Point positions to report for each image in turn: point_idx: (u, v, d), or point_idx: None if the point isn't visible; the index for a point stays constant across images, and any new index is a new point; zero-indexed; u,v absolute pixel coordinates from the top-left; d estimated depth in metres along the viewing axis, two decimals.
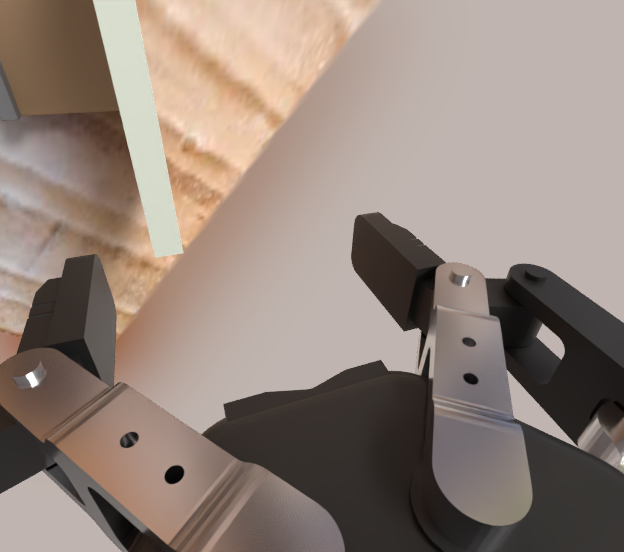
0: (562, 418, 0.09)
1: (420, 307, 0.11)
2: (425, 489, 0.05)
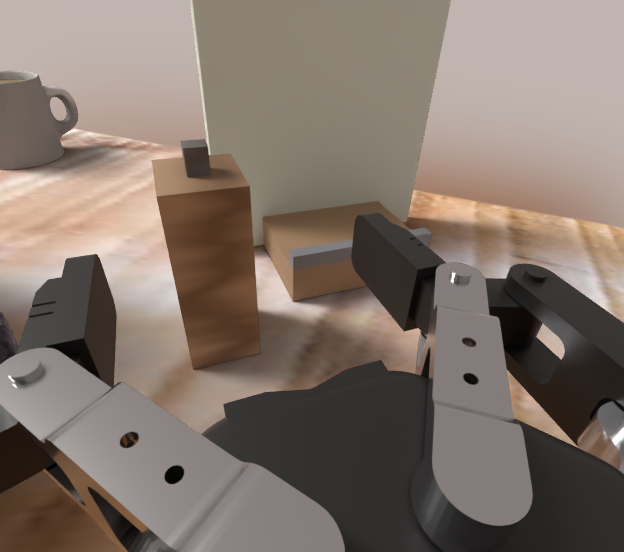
0: (562, 418, 0.09)
1: (420, 307, 0.11)
2: (425, 489, 0.05)
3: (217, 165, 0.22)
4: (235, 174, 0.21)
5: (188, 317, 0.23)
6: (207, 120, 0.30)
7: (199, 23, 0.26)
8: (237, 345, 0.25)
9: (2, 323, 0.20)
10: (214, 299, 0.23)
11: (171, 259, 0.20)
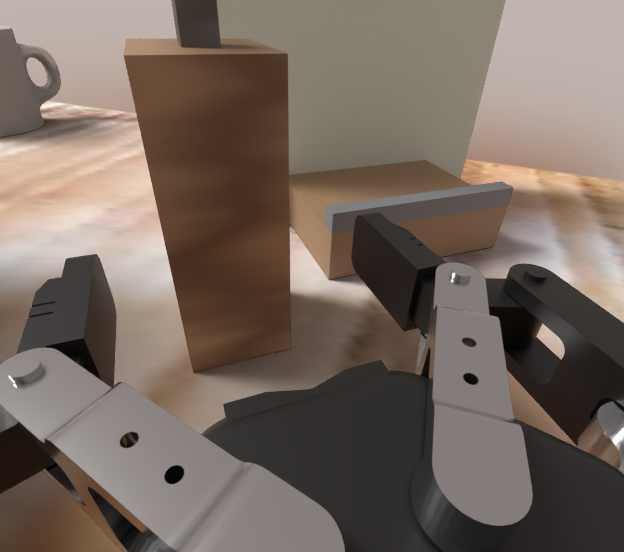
0: (562, 418, 0.09)
1: (420, 307, 0.11)
2: (425, 489, 0.05)
3: (230, 43, 0.14)
4: (260, 47, 0.12)
5: (184, 289, 0.14)
6: None
7: None
8: (259, 336, 0.17)
9: None
10: (225, 260, 0.14)
11: (154, 185, 0.12)
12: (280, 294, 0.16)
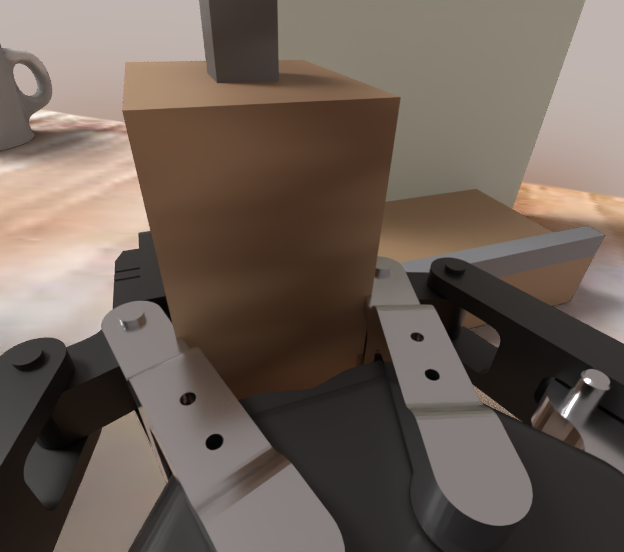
0: (507, 401, 0.09)
1: None
2: (425, 489, 0.05)
3: (284, 70, 0.09)
4: (340, 81, 0.08)
5: None
6: None
7: None
8: None
9: None
10: (273, 389, 0.10)
11: (172, 307, 0.07)
12: None
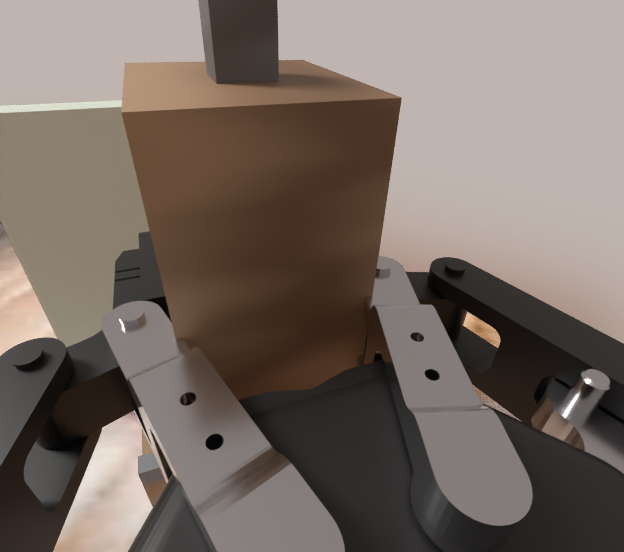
0: (507, 401, 0.09)
1: None
2: (425, 489, 0.05)
3: (284, 71, 0.09)
4: (340, 81, 0.08)
5: None
6: (27, 273, 0.22)
7: None
8: None
9: None
10: (273, 391, 0.10)
11: (172, 310, 0.07)
12: None
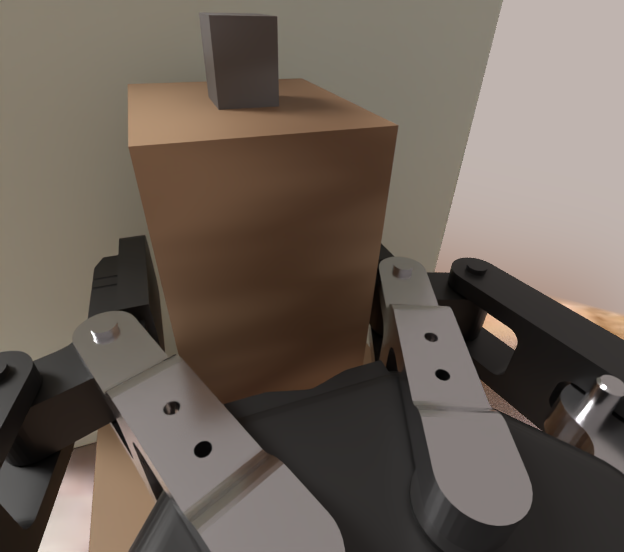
0: (522, 404, 0.09)
1: None
2: (425, 489, 0.05)
3: (284, 92, 0.09)
4: (339, 106, 0.08)
5: None
6: None
7: None
8: None
9: None
10: None
11: (176, 329, 0.08)
12: None
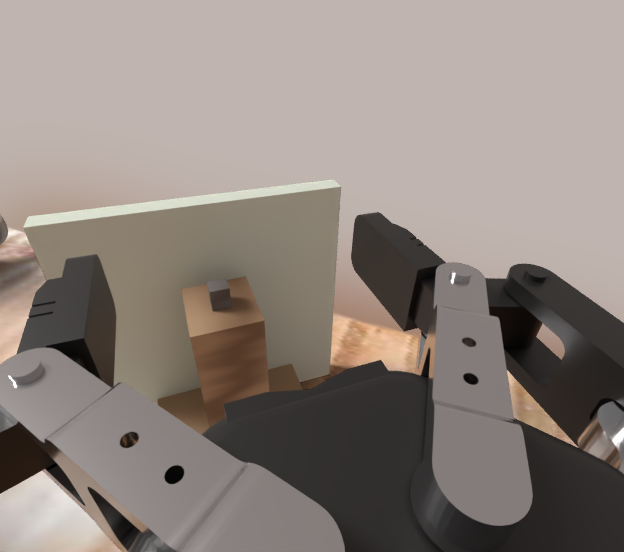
0: (562, 418, 0.09)
1: (420, 307, 0.11)
2: (425, 489, 0.05)
3: (236, 293, 0.26)
4: (251, 305, 0.25)
5: (212, 417, 0.27)
6: None
7: (42, 257, 0.24)
8: None
9: None
10: None
11: (200, 378, 0.25)
12: None
